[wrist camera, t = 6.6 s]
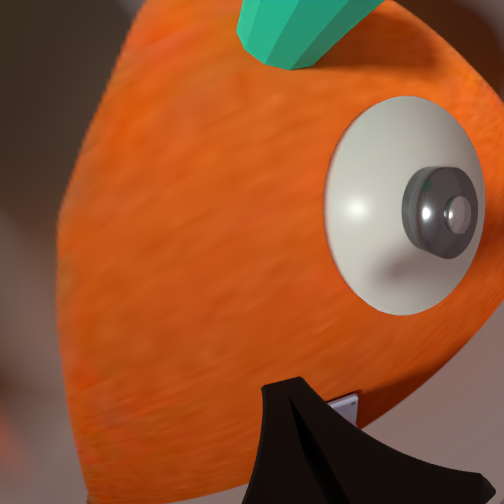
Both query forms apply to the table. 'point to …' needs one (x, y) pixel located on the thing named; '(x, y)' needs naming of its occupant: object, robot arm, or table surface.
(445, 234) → the cover
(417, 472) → the robot arm
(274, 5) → the candle
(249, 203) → the table surface
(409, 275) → the cream flat disc
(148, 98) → the table surface
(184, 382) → the table surface
